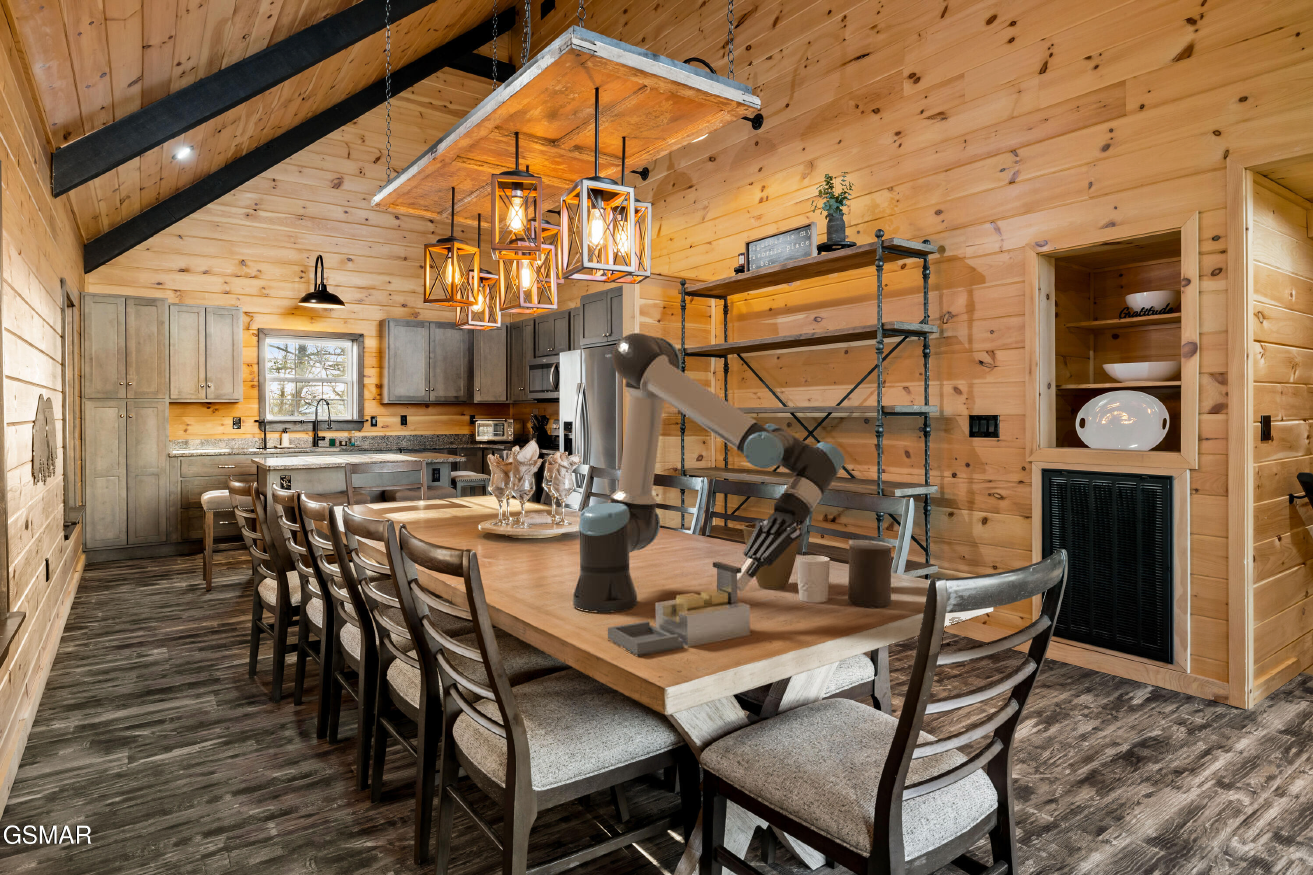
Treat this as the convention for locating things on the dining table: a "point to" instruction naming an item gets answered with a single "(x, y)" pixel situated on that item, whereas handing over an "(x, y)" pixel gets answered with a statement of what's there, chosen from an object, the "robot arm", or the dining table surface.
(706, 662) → the dining table surface
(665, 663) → the dining table surface
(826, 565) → the white cup
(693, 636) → the slotted rail
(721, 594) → the brass chip
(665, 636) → the tray
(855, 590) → the pillar candle
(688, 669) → the dining table surface
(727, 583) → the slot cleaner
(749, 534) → the plant pot
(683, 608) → the brass chip
